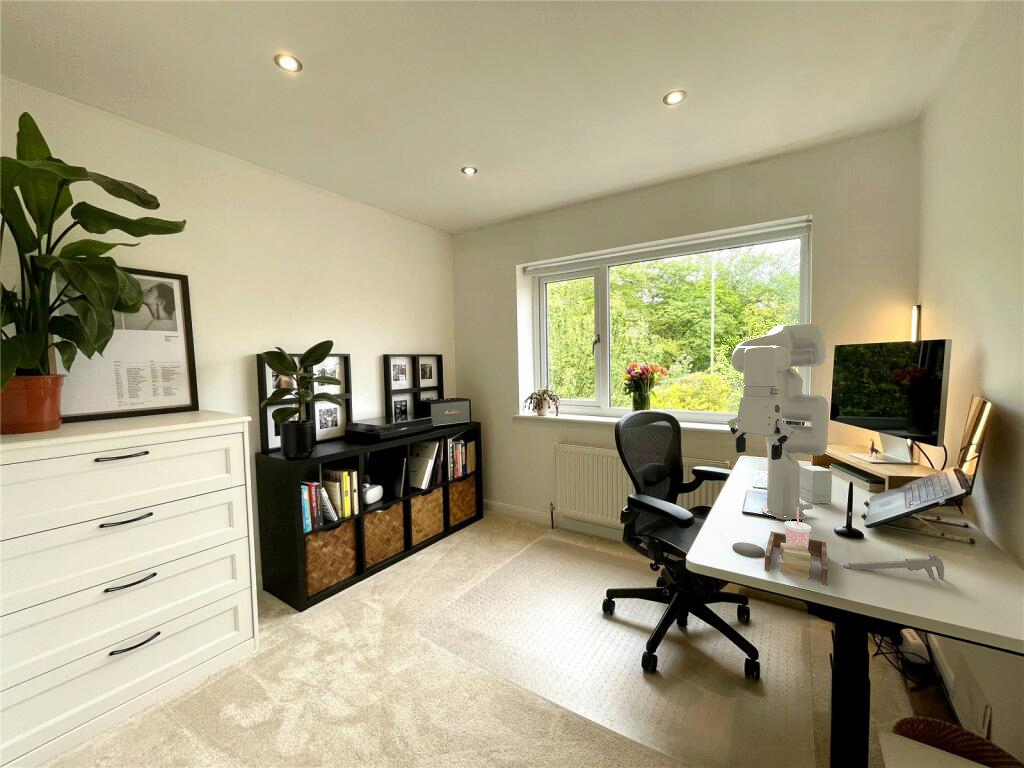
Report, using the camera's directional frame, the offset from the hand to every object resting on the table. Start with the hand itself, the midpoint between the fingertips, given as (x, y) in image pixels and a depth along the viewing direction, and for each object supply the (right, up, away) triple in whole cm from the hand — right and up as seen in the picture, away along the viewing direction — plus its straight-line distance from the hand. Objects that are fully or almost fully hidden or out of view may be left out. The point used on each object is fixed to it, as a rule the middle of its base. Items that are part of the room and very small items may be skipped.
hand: (757, 455), depth 113 cm
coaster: (+1, -28, +6) cm, 29 cm away
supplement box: (+49, -26, +47) cm, 72 cm away
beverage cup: (+12, -28, +2) cm, 31 cm away
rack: (+9, -28, -1) cm, 30 cm away
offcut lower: (+6, -29, -5) cm, 30 cm away
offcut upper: (+6, -26, -5) cm, 27 cm away
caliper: (+30, -29, -7) cm, 42 cm away
